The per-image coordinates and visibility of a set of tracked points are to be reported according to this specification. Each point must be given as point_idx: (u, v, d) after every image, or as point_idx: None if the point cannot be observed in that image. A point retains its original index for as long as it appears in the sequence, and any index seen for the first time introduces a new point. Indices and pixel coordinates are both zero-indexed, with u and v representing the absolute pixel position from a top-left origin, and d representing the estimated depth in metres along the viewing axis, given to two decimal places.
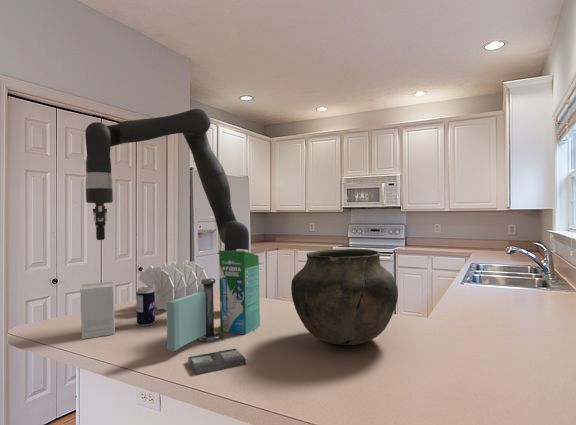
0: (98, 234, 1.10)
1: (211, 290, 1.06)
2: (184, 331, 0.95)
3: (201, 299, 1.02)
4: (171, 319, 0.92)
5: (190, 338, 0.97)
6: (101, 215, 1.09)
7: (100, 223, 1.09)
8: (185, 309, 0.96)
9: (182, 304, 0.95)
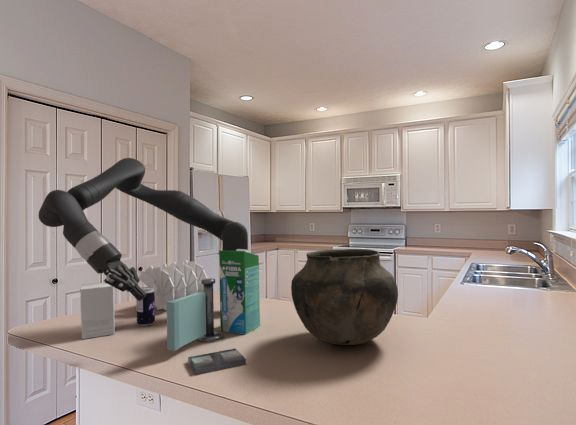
0: (142, 291, 0.98)
1: (211, 290, 1.06)
2: (184, 331, 0.95)
3: (201, 299, 1.02)
4: (171, 319, 0.92)
5: (190, 338, 0.97)
6: None
7: None
8: (185, 309, 0.96)
9: (182, 304, 0.95)
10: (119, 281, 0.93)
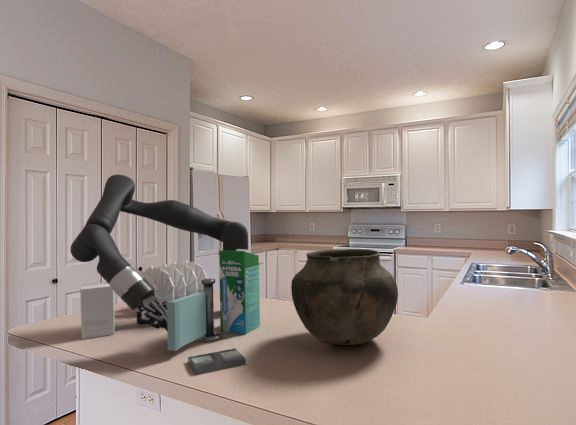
0: None
1: (211, 290, 1.06)
2: (184, 331, 0.95)
3: (201, 299, 1.02)
4: (172, 319, 0.92)
5: (190, 338, 0.97)
6: None
7: None
8: (186, 309, 0.96)
9: (182, 304, 0.95)
10: (154, 319, 0.92)
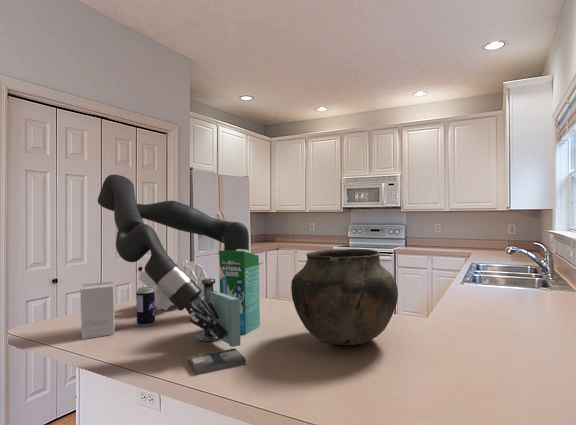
0: None
1: (211, 290, 1.06)
2: None
3: None
4: (236, 315, 0.94)
5: None
6: None
7: None
8: None
9: None
10: (204, 320, 0.91)
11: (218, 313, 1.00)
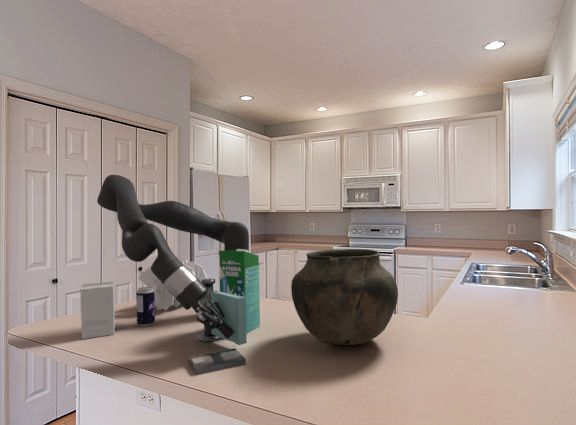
0: None
1: (211, 290, 1.06)
2: None
3: None
4: (243, 314, 0.95)
5: None
6: None
7: None
8: None
9: None
10: (211, 319, 0.91)
11: None
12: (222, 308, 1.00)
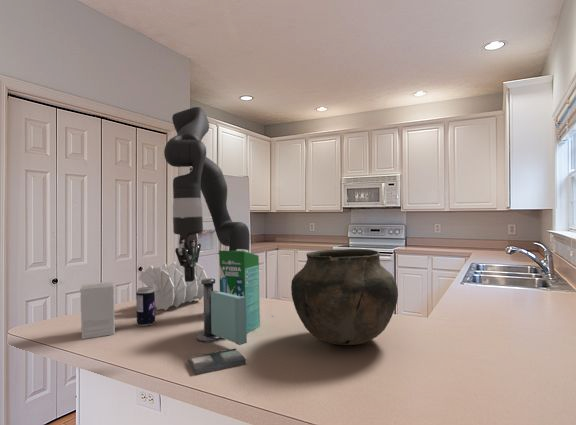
0: None
1: (211, 290, 1.06)
2: None
3: None
4: (243, 314, 0.95)
5: None
6: None
7: None
8: None
9: None
10: (185, 258, 0.92)
11: (222, 313, 1.00)
12: (222, 308, 1.00)
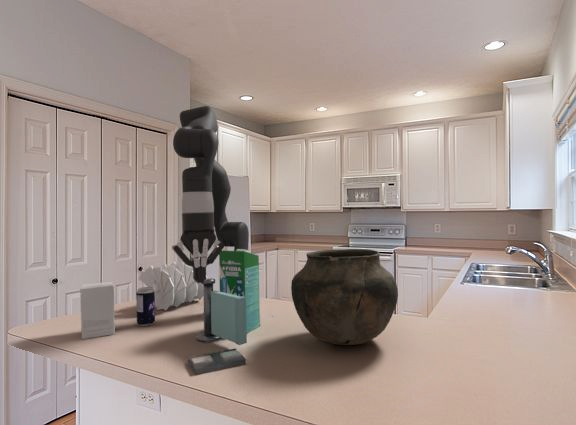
0: (205, 275, 0.89)
1: (211, 290, 1.06)
2: None
3: None
4: (243, 314, 0.95)
5: None
6: None
7: None
8: None
9: None
10: (180, 257, 0.86)
11: (222, 313, 1.00)
12: (222, 308, 1.00)
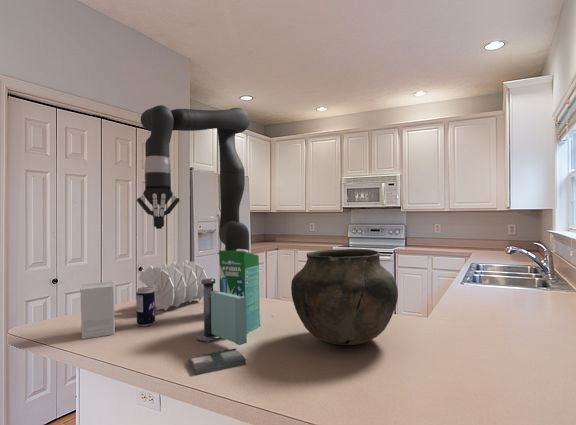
0: (163, 223, 1.12)
1: (211, 290, 1.06)
2: None
3: None
4: (243, 314, 0.95)
5: None
6: None
7: (168, 213, 1.13)
8: None
9: None
10: (142, 207, 1.09)
11: (222, 313, 1.00)
12: (222, 308, 1.00)
